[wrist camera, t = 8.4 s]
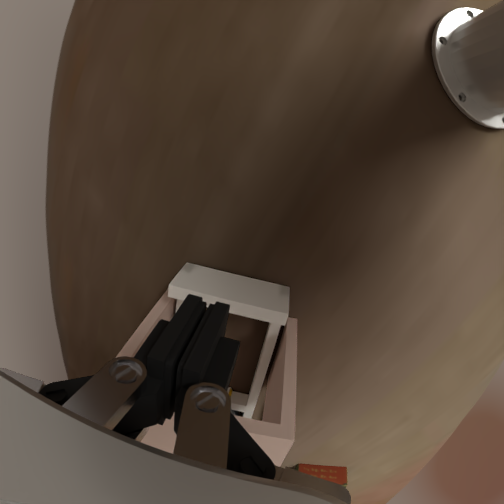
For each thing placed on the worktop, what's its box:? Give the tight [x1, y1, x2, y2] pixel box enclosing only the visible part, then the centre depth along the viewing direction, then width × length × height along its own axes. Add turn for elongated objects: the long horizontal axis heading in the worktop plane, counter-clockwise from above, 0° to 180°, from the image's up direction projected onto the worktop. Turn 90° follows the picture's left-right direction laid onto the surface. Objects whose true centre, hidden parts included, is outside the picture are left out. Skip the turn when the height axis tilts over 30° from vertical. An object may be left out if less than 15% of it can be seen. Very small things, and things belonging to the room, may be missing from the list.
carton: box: [295, 464, 347, 488], centre depth 42 cm, size 8×16×4 cm, turn 170°
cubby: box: [116, 289, 297, 467], centre depth 27 cm, size 14×9×15 cm, turn 78°
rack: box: [168, 262, 290, 419], centre depth 33 cm, size 10×26×5 cm, turn 168°
